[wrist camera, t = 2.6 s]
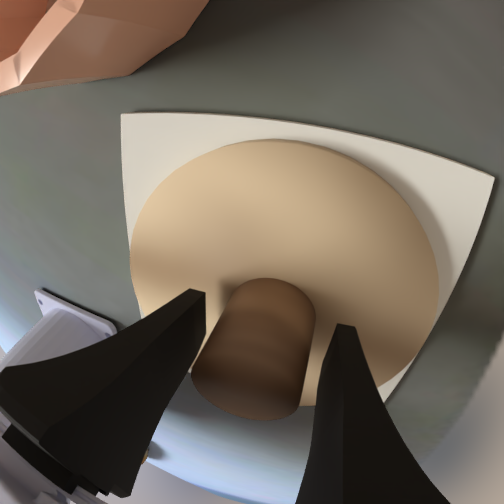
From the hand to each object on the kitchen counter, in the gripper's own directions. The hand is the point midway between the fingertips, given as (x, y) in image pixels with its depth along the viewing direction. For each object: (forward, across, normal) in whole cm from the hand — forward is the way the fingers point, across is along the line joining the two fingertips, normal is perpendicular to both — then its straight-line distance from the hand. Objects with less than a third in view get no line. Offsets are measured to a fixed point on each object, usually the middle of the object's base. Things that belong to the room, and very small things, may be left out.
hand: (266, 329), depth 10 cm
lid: (+2, 0, 0) cm, 2 cm away
